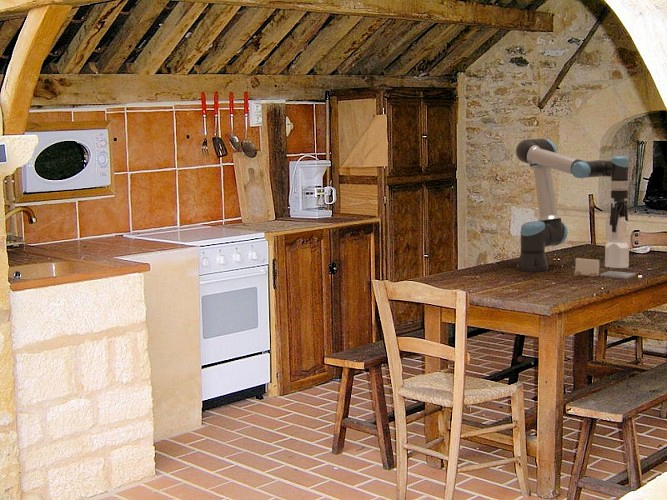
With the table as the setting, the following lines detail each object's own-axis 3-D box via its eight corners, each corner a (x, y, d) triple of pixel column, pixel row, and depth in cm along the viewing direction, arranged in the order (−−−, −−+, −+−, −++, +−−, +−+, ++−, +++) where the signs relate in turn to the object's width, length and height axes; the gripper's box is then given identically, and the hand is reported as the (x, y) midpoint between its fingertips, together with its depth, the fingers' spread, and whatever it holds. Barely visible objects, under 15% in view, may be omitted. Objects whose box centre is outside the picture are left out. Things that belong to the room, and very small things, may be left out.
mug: (626, 241, 434) (626, 218, 433) (602, 240, 442) (602, 217, 441) (634, 239, 441) (635, 217, 439) (610, 238, 449) (611, 215, 447)
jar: (602, 267, 471) (602, 237, 469) (608, 264, 479) (609, 235, 477) (625, 268, 465) (625, 238, 463) (631, 266, 472) (631, 236, 471)
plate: (599, 276, 444) (599, 274, 444) (609, 273, 452) (609, 271, 452) (626, 278, 436) (626, 276, 435) (635, 275, 444) (635, 273, 444)
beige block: (572, 275, 448) (572, 259, 447) (577, 273, 452) (577, 258, 451) (594, 277, 442) (594, 261, 441) (599, 275, 445) (599, 259, 444)
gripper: (618, 191, 428) (617, 241, 431) (636, 188, 444) (635, 236, 447) (602, 191, 433) (601, 240, 436) (620, 188, 449) (619, 235, 452)
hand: (618, 238), depth 441 cm, fingers closed on mug, 9 cm apart
